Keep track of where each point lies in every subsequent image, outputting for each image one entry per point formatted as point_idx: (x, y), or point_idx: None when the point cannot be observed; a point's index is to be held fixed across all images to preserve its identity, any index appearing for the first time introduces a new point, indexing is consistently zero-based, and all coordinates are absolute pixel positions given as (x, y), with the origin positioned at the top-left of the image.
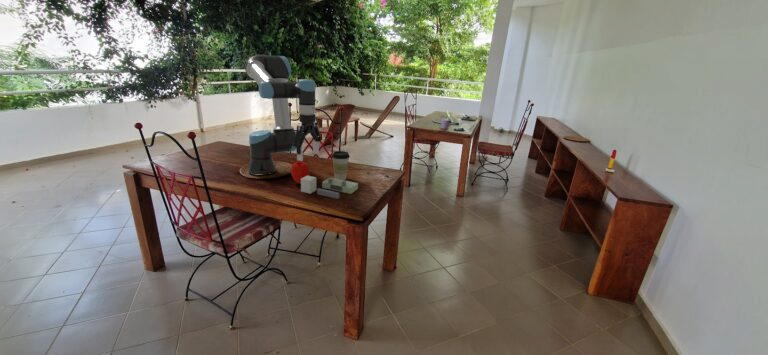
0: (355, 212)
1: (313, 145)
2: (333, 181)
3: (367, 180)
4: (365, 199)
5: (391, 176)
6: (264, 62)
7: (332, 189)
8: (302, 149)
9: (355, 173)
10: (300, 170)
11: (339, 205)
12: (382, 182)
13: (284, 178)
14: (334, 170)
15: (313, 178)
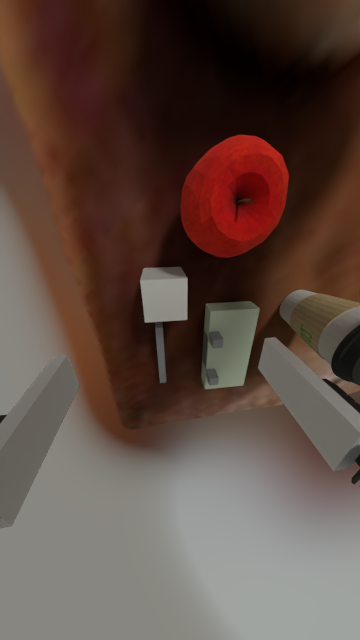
0: (124, 421)
1: (312, 390)
2: (229, 335)
3: None
4: (188, 407)
5: None
6: None
7: (204, 335)
8: (27, 489)
9: None
10: (196, 238)
11: (131, 390)
12: None
13: (229, 85)
14: (305, 308)
15: (171, 318)
